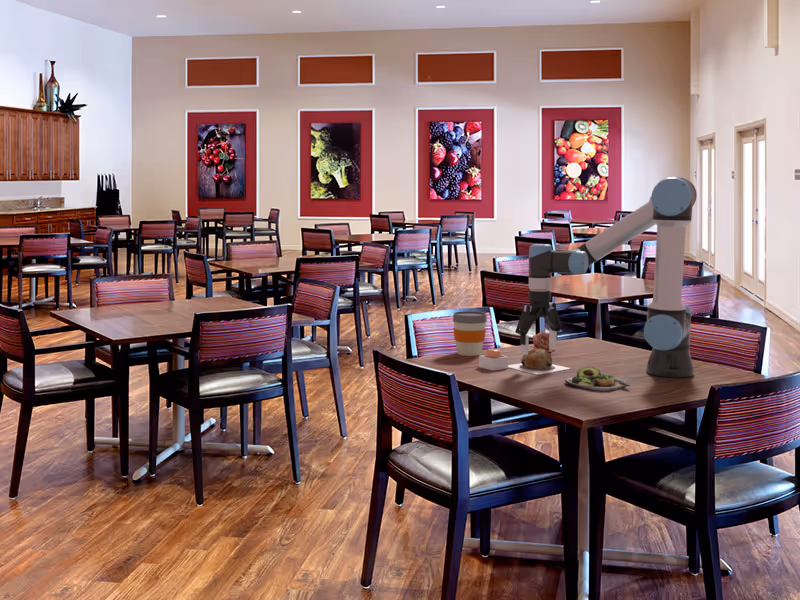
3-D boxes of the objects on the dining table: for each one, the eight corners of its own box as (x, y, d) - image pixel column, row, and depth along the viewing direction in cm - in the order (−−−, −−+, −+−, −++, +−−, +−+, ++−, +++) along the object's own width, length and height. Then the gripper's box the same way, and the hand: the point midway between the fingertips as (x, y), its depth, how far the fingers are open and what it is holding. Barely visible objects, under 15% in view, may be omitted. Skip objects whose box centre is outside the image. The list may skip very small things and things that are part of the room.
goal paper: (536, 361, 306) (536, 360, 306) (570, 369, 293) (571, 368, 293) (504, 366, 296) (504, 365, 296) (537, 375, 283) (537, 373, 283)
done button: (494, 357, 298) (494, 348, 297) (504, 359, 294) (504, 350, 293) (483, 358, 295) (483, 350, 294) (493, 361, 291) (493, 352, 290)
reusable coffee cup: (445, 353, 318) (446, 313, 316) (464, 349, 328) (464, 310, 326) (474, 358, 311) (475, 317, 309) (492, 353, 321) (493, 313, 319)
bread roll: (538, 380, 289) (548, 360, 286) (513, 364, 294) (523, 344, 291) (550, 375, 297) (560, 356, 294) (526, 360, 302) (536, 340, 299)
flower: (524, 347, 323) (529, 332, 318) (543, 340, 327) (548, 326, 321) (539, 365, 317) (544, 350, 312) (558, 358, 321) (564, 343, 316)
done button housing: (494, 364, 299) (494, 353, 299) (508, 368, 294) (508, 356, 293) (479, 367, 295) (479, 355, 295) (492, 370, 290) (493, 358, 289)
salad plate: (642, 386, 269) (643, 372, 268) (612, 396, 256) (613, 381, 256) (589, 377, 283) (590, 363, 282) (558, 385, 270) (558, 371, 269)
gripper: (557, 286, 301) (556, 346, 304) (505, 291, 287) (504, 354, 289) (573, 288, 295) (572, 349, 298) (521, 293, 281) (520, 357, 283)
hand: (538, 351), depth 294 cm, fingers open, 13 cm apart
